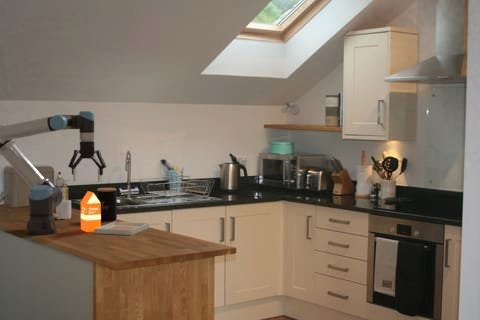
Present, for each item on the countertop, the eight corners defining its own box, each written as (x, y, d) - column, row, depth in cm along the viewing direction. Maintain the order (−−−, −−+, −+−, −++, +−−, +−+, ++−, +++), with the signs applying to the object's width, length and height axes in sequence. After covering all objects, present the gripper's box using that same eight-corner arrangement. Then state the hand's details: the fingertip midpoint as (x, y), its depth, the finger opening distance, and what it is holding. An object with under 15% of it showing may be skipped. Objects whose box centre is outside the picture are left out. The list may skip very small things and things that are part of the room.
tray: (131, 235, 346) (131, 230, 346) (94, 233, 351) (94, 228, 351) (149, 227, 369) (149, 223, 369) (114, 225, 374) (114, 221, 374)
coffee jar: (93, 220, 392) (93, 188, 391) (109, 218, 400) (108, 187, 399) (105, 222, 385) (104, 190, 384) (120, 220, 393) (120, 188, 391)
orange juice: (86, 232, 354) (86, 193, 353) (80, 229, 362) (80, 191, 360) (101, 230, 358) (100, 192, 357) (95, 228, 366) (94, 190, 364)
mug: (53, 220, 391) (53, 202, 390) (47, 218, 397) (47, 201, 396) (73, 218, 398) (73, 200, 397) (67, 217, 404) (67, 199, 404)
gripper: (112, 140, 363) (112, 181, 364) (67, 140, 368) (68, 179, 369) (106, 141, 356) (107, 182, 357) (61, 140, 360) (62, 181, 362)
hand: (87, 181), depth 363 cm, fingers open, 13 cm apart
